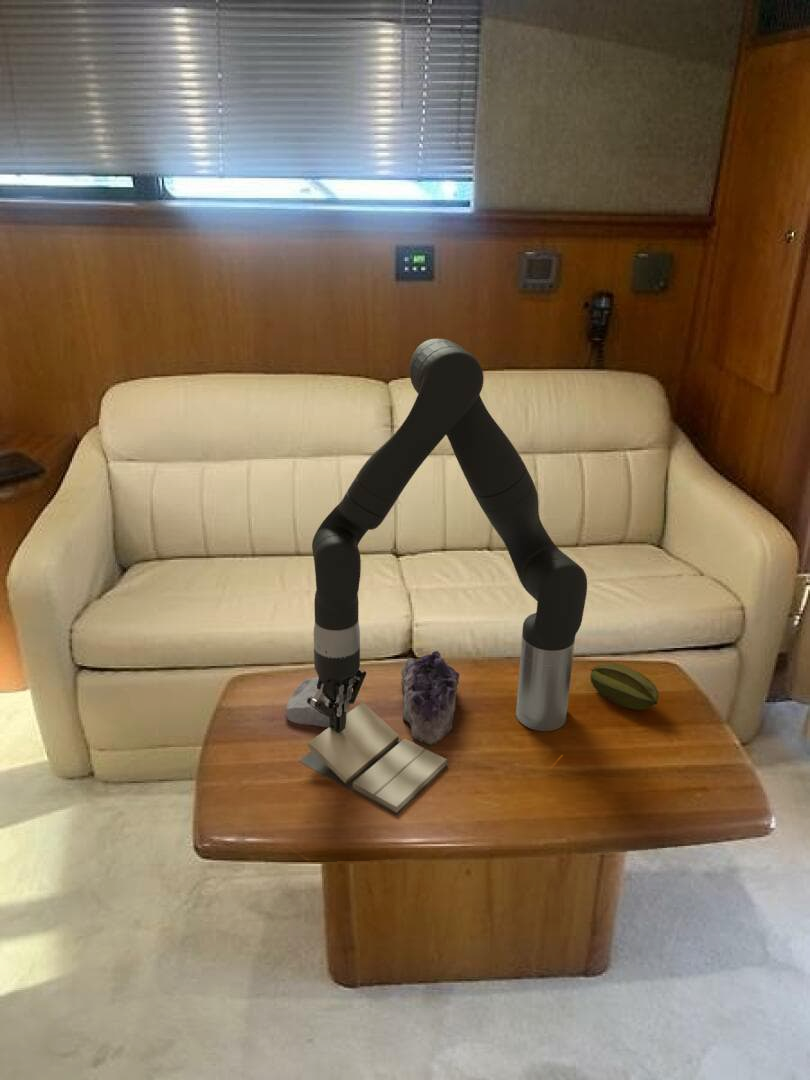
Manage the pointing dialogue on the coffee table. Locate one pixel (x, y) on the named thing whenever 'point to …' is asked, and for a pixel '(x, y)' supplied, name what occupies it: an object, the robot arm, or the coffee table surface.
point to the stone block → (305, 705)
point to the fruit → (624, 686)
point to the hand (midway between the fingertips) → (338, 729)
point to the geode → (429, 697)
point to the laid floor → (390, 775)
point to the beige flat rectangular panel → (354, 743)
